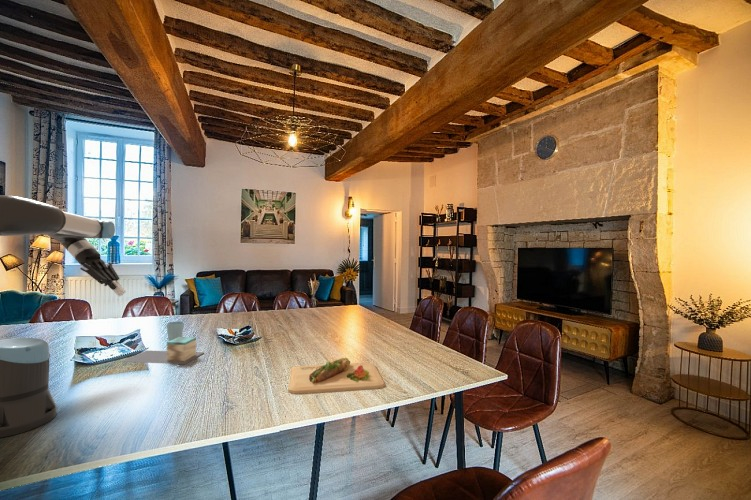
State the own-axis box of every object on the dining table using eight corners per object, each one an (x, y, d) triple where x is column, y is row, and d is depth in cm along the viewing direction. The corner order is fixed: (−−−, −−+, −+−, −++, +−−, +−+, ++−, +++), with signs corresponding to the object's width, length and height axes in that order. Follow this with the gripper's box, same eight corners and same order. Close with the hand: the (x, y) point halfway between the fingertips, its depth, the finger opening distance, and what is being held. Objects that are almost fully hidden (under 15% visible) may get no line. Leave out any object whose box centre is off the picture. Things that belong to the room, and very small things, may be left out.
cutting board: (373, 366, 141) (373, 349, 141) (385, 389, 118) (385, 369, 118) (291, 370, 134) (292, 352, 134) (287, 396, 111) (288, 374, 111)
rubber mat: (204, 353, 150) (204, 352, 150) (183, 365, 135) (184, 363, 135) (146, 351, 151) (146, 350, 151) (120, 362, 136) (120, 361, 136)
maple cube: (179, 336, 147) (178, 354, 147) (167, 342, 139) (166, 360, 139) (195, 337, 147) (195, 354, 147) (185, 342, 139) (184, 360, 139)
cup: (163, 345, 161) (163, 324, 161) (170, 340, 169) (171, 321, 169) (179, 345, 162) (179, 324, 162) (186, 340, 170) (186, 321, 170)
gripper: (93, 259, 141) (128, 297, 141) (63, 260, 128) (102, 302, 127) (104, 247, 141) (140, 286, 140) (76, 247, 128) (115, 289, 127)
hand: (122, 293), depth 134 cm, fingers closed
